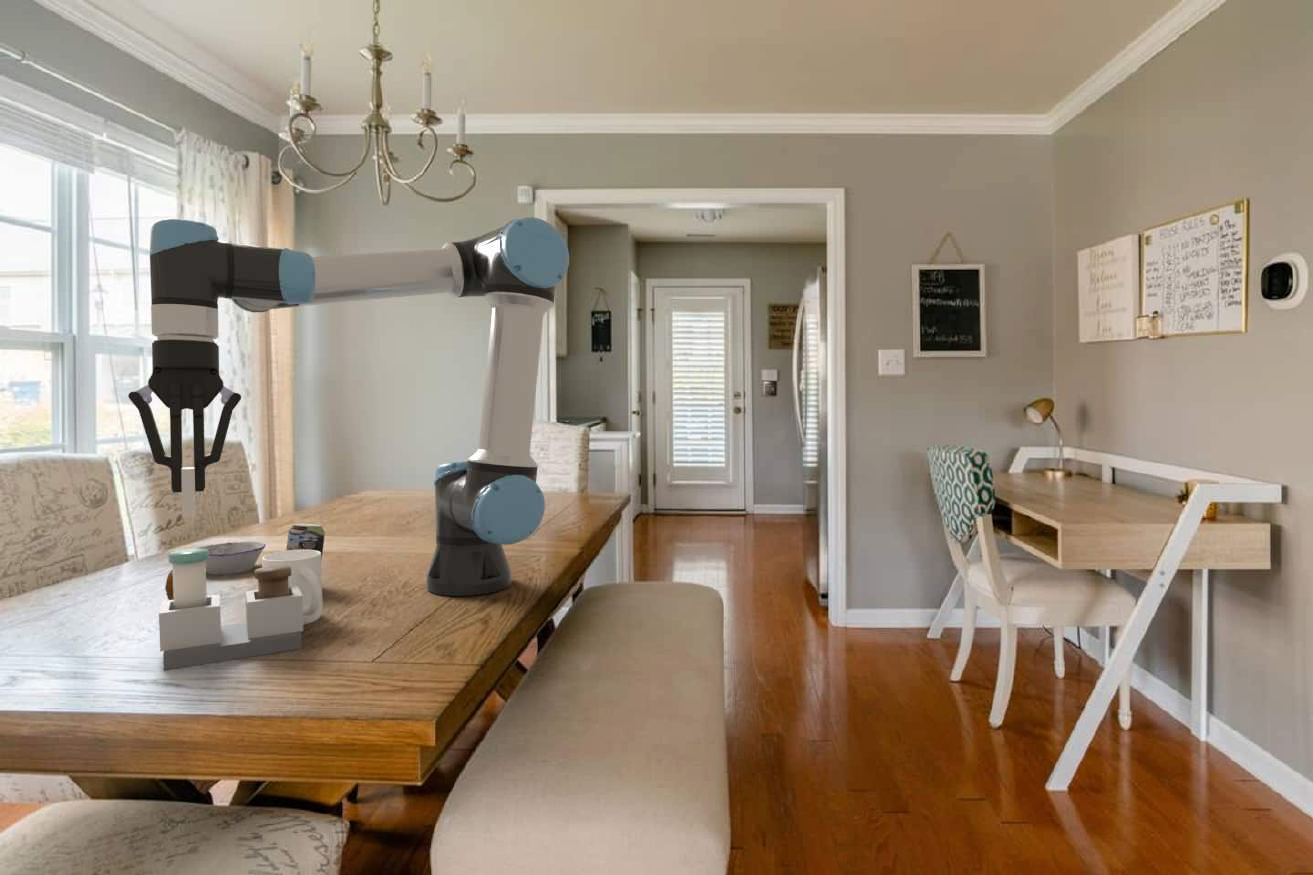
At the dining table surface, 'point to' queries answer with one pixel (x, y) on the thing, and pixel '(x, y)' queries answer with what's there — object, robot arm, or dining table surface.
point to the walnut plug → (273, 581)
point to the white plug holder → (230, 630)
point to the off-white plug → (189, 577)
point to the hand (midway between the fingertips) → (189, 516)
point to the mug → (302, 578)
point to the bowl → (232, 557)
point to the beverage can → (306, 537)
